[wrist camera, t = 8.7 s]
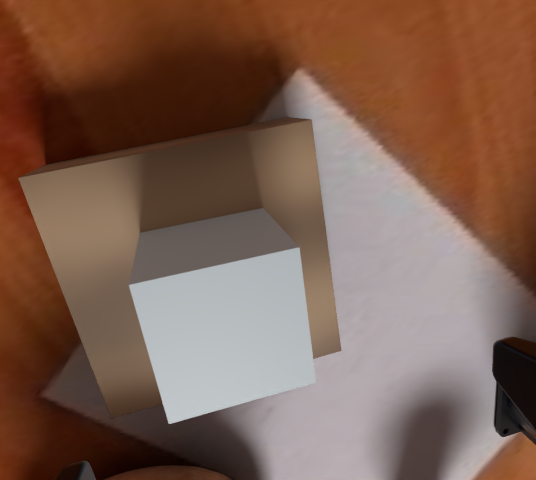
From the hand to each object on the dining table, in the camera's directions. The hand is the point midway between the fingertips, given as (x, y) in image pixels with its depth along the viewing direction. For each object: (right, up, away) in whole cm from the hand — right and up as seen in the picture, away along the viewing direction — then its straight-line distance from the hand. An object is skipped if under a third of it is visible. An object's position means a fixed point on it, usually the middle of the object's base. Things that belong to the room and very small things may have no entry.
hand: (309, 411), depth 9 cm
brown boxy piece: (-4, +3, +12) cm, 13 cm away
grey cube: (-3, +2, +9) cm, 9 cm away
